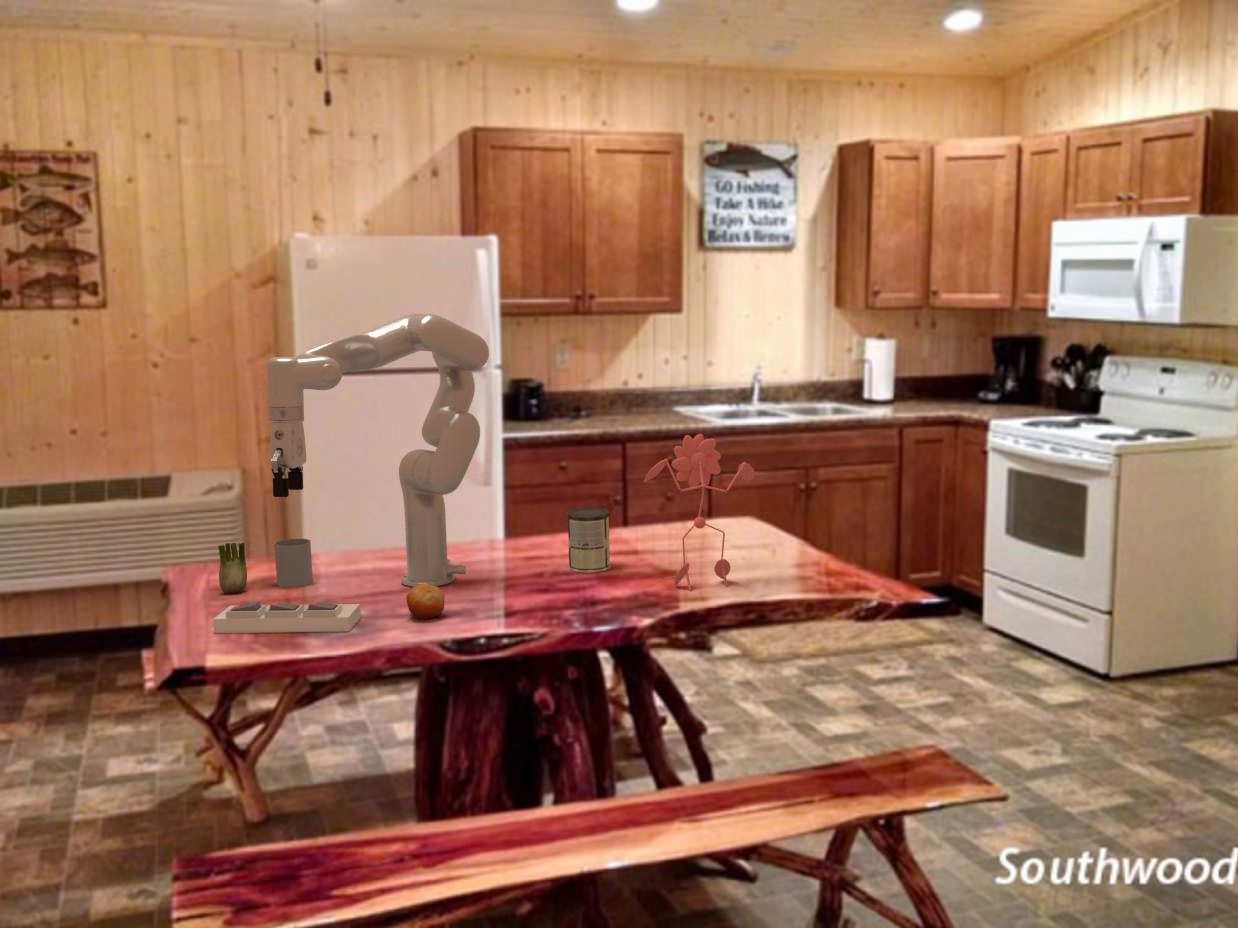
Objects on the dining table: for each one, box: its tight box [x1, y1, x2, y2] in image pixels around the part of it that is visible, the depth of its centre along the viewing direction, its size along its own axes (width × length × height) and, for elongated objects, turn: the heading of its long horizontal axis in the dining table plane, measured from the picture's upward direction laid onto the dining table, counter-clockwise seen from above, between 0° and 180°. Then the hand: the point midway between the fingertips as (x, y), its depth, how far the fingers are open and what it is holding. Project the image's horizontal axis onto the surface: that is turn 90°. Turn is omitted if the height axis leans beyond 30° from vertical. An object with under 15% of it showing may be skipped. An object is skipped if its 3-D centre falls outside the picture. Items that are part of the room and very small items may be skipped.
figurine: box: [643, 433, 755, 592], centre depth 277 cm, size 15×26×35 cm, turn 109°
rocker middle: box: [270, 600, 299, 611], centre depth 248 cm, size 5×3×1 cm, turn 89°
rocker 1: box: [231, 601, 261, 611], centre depth 248 cm, size 5×3×1 cm, turn 88°
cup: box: [274, 538, 314, 589], centre depth 285 cm, size 8×8×10 cm
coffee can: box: [566, 507, 611, 574], centre depth 293 cm, size 10×10×14 cm
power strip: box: [213, 603, 362, 634], centre depth 250 cm, size 28×10×4 cm, turn 89°
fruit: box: [405, 583, 445, 621], centre depth 255 cm, size 8×8×8 cm
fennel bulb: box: [217, 541, 248, 594], centre depth 277 cm, size 6×5×12 cm
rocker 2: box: [308, 600, 338, 610], centre depth 248 cm, size 5×3×1 cm, turn 89°
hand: (288, 493), depth 259 cm, fingers open, 9 cm apart
